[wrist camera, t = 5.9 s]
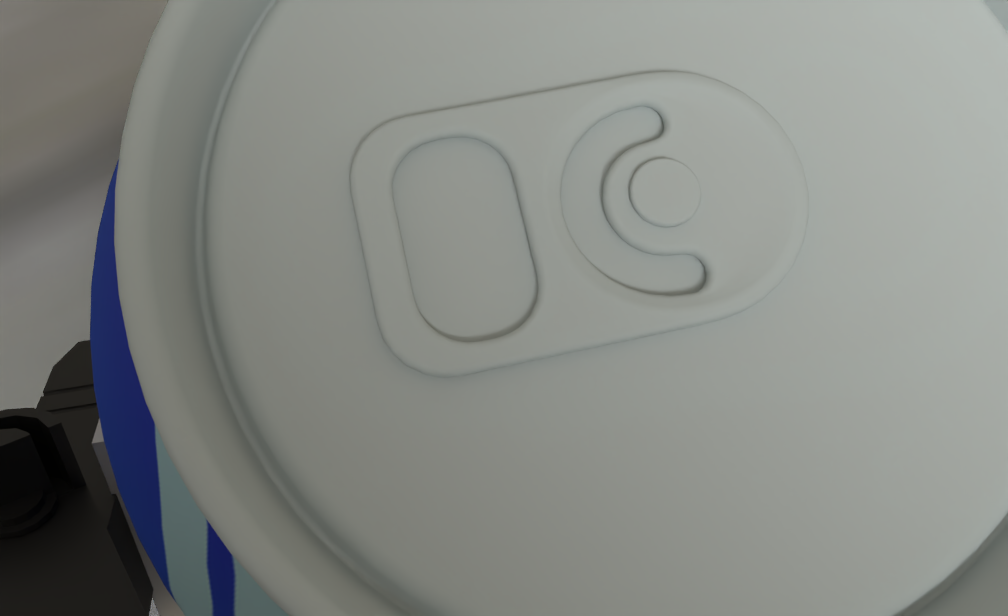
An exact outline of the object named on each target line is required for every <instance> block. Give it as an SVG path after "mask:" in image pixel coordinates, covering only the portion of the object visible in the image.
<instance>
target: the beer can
mask: <svg viewBox="0 0 1008 616" xmlns="http://www.w3.org/2000/svg"><path fill="white" fill-rule="evenodd" d="M90 344H91V356H92V369H93V381H94V391H95V396H96V402H97V407H98V413H99V418H100V423H101V429H102V434H103V439H104V443H105V446H106V450H107V453H108V456H109V460H110V463H111V466H112V470H113V473H114V476H115V480H116V483H117V487H118V490H119V492H120V495H121V497H122V499H123V502H124V504H125V507H126V509H127V512H128V514H129V516H130V519H131V521H132V524H133V526H134V528H135V531H136V533H137V536H138V538H139V540H140V542H141V544H142V546H143V547H144V549H145V551H146V553H147V555H148V557H149V558H150V560H151V562H152V564H153V566H154V568H155V569H156V571H157V573H158V575H159V577H160V579H161V580H162V582H163V584H164V586H165V587H166V589H167V590H168V592H169V593H170V595H171V596H172V598H173V599H174V600H175V602H176V603H177V605H178V606H179V608H180V609H181V611H182V612H183V613H184V615H185V616H1008V0H168V2H167V5H166V7H165V9H164V11H163V13H162V15H161V17H160V19H159V21H158V24H157V26H156V28H155V30H154V32H153V34H152V36H151V38H150V41H149V44H148V47H147V50H146V53H145V55H144V58H143V61H142V64H141V67H140V70H139V72H138V75H137V78H136V81H135V84H134V87H133V92H132V96H131V100H130V104H129V108H128V113H127V117H126V121H125V125H124V130H123V134H122V140H121V148H120V155H119V159H118V162H117V165H116V168H115V170H114V173H113V176H112V179H111V182H110V185H109V189H108V193H107V197H106V201H105V206H104V210H103V214H102V218H101V223H100V227H99V231H98V237H97V245H96V253H95V260H94V268H93V276H92V286H91V321H90Z"/></svg>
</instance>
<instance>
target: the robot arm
mask: <svg viewBox="0 0 1008 616" xmlns="http://www.w3.org/2000/svg"><path fill="white" fill-rule="evenodd" d="M43 393H44V396H43V397H41V398H40V401H39V403H38V405H37V408H36V409H34V408H21V409H6V410H3V411H0V616H149V611H150V605H151V600H152V598H153V600H154V603H155V605H156V608H157V610H158V613H159V615H160V616H185V615H184V613H183V612H182V611H181V609H180V608H179V606H178V605H177V603H176V602H175V600H174V599H173V598H172V596H171V595H170V593H169V592H168V590H167V589H166V587H165V586H164V584H163V582H162V580H161V579H160V577H159V575H158V573H157V571H156V569H155V568H154V566H153V564H152V562H151V560H150V558H149V557H148V555H147V553H146V551H145V549H144V547H143V546H142V544H141V542H140V540H139V538H138V536H137V533H136V531H135V528H134V526H133V524H132V521H131V519H130V516H129V514H128V512H127V509H126V507H125V504H124V502H123V499H122V497H121V495H120V492H119V490H118V487H117V483H116V480H115V476H114V473H113V470H112V466H111V463H110V460H109V456H108V453H107V450H106V446H105V443H104V439H103V434H102V429H101V423H100V418H99V413H98V407H97V402H96V396H95V391H94V381H93V369H92V356H91V344H90V340H88V341H82V342H78V343H77V344H76V345H75V346H74V347H73V348H72V349H71V350H70V351H69V352H68V353H67V354H66V355H65V356H64V357H63V358H62V359H61V360H60V361H59V362H58V363H57V364H55V365H54V366H53V369H52V371H51V374H50V376H49V379H48V381H47V383H46V386H45V388H44V391H43Z"/></svg>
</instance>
